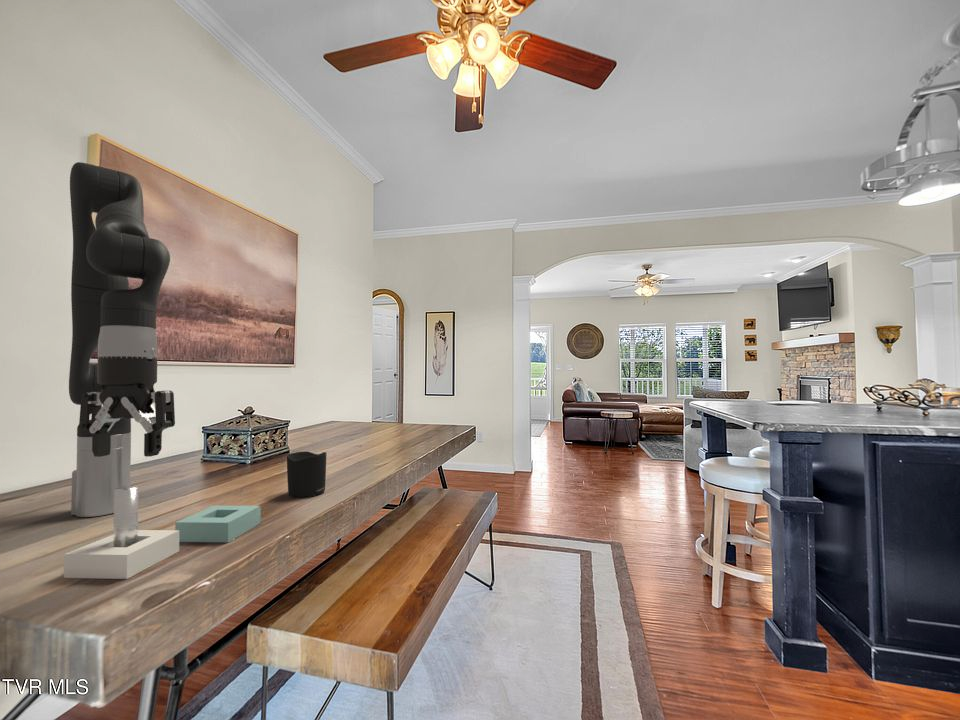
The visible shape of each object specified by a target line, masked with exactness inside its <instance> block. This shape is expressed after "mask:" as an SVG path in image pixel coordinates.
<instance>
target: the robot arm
mask: <svg viewBox="0 0 960 720" xmlns="http://www.w3.org/2000/svg"><path fill="white" fill-rule="evenodd" d="M69 175H70V176H69V196H70V211H71V225H72V260H71V264H72V265H71V267H72V268H71V280H70V281H71V282H70V283H71V289H70V290H71V291H70V300H71V301H70V303H71V325H72V327H71V328H72V333H71V335H72V337H71V338H72V339H71V349H70V350H71V351H70V352H71V353H70V362H69V364H70V365H69V374H68V394H69V395H68V396H69V398H70V401H71V402H72V403H73V404H74V405H77V406H78V405H80V409H79V419H78V421H79V422H78V425H77V427H76V469H75V470H73V471H72V473H71V500H70V501H71V504H70V505H71V509H70V511H71V512H70V515H71V516H72V515H74V516H75V517H77V518H88V517H89V518H91V517H100V516H105V515H110V514H111V515H112V514H114V489H116V488H120V487H125V486H131V466H132V465H131V460H132V457H131V455H132V419H134V421H135V422H136V423H139V424H140V425H141V426H142V428H143V429H144V430H145V432H146V433H144V434H143V436H144V437H143V456H144V457H146V458H147V457H148V458H149V457H150V458H151V457H154V456H158V455H159V454H160V452H161V450H162V441H163V440H162V437H163V435H162V434H163V431H165V430H167V429H169V428H173V427H174V426H175V425H176V417H175V415H176V414H175V412H176V411H175V395H174V391H172V390H157V391H156V390H155V387H154V385H155V384H156V383H158V338H157V337H158V336H157V329H156V328H157V304H158V298H159V294H160V291H161V287H162V284H163V282H164V280H165V276H166V274H167V272H168V270H169V266H170V262H171V255H170V251H169V250H168V247H167V246H166V244H165V243H163V242H162V241H160V240H159V239H156V238H152V237H151V238H150V236H149V233H148V229H147V227H146V225H145V221H144V217H145V215H144V213H145V211H144V209H145V207H144V194H143V188H142V186H141V183H140V181H139V180H138V179H137V178H136V177H135V176H134V175H132V174H129V173H127V172H124V171H120V170H116V169H112V168H107V167H103V166H99V165H98V166H97V165H95V164H92V163H91V164H90V163H86V162H79V161H77V162H75V163H74V164H73V165H71V169H70V174H69ZM93 213H95V214H96V216H95V220H93V216H92V214H93ZM129 279H137V280H138V279H139V280H142V281H141V285H140V286H138V287H137V288H136V287H135V288H130V289H129V286H130V285H129V284H130V283H129ZM96 348H97V363H90V360H91V358H92V356H93V353H94V352H95V350H96ZM153 404H154V405H153ZM90 416H91V418H90Z"/></svg>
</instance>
